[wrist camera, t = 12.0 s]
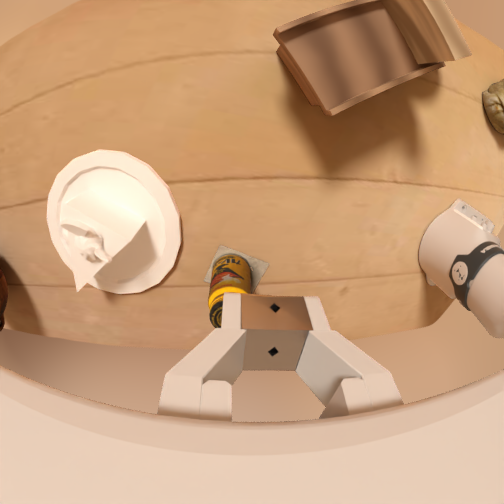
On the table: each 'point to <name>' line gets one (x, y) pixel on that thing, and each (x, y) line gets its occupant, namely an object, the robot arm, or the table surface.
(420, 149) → the table surface
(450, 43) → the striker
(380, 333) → the table surface
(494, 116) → the pastry
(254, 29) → the table surface
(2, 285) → the vase
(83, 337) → the table surface
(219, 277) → the condiment
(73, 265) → the dish
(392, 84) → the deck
